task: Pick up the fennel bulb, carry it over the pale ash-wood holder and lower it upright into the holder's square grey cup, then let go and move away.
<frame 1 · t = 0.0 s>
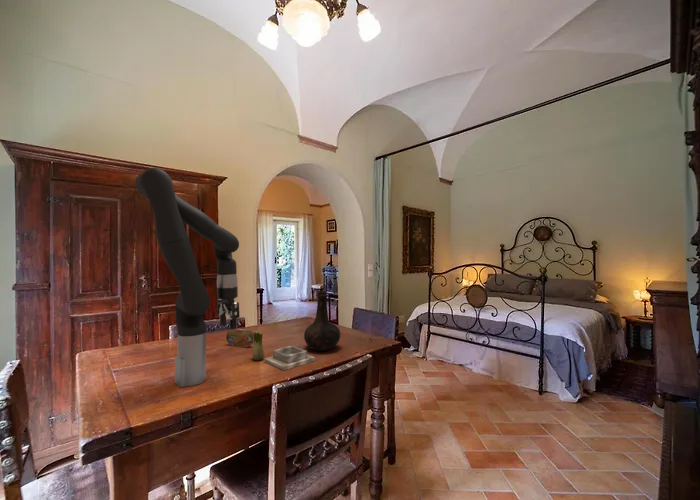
hand: (228, 327, 120), 17 cm above the table, tool pointing down, fingers open, 8 cm apart
glass bottle: (322, 348, 150), on the table
fennel bulb: (258, 359, 134), on the table
tin: (240, 346, 153), on the table
bulb holder: (289, 361, 131), on the table
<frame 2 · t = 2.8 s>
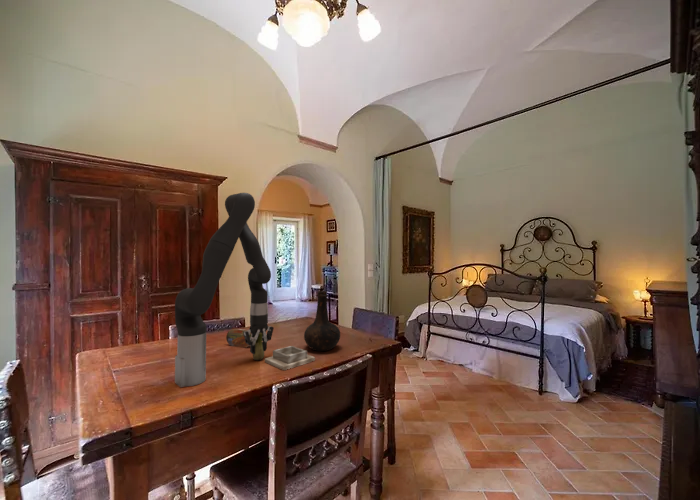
hand: (258, 352, 134), 3 cm above the table, tool pointing down, fingers closed on fennel bulb, 4 cm apart
fennel bulb: (258, 359, 134), on the table, touching gripper
everything else where it was.
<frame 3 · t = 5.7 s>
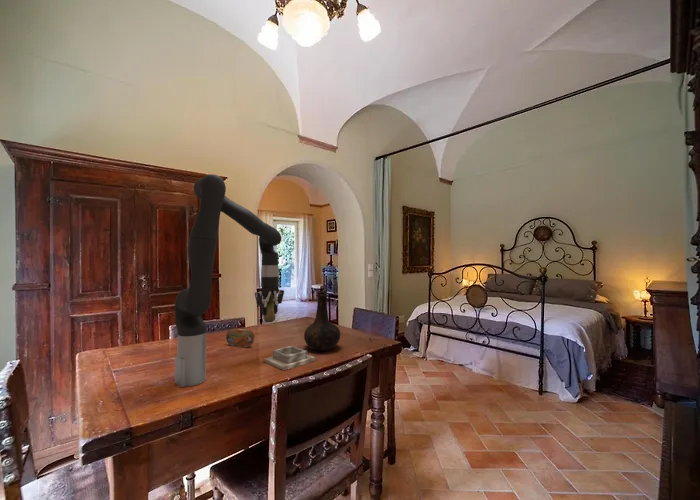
hand: (269, 314, 134), 20 cm above the table, tool pointing down, fingers closed on fennel bulb, 4 cm apart
fennel bulb: (269, 322, 134), point 16 cm above the table, touching gripper
everything else where it was.
when the fingers open (6 cm above the table, at t = 8.5 s): fennel bulb drops 1 cm, resting on bulb holder.
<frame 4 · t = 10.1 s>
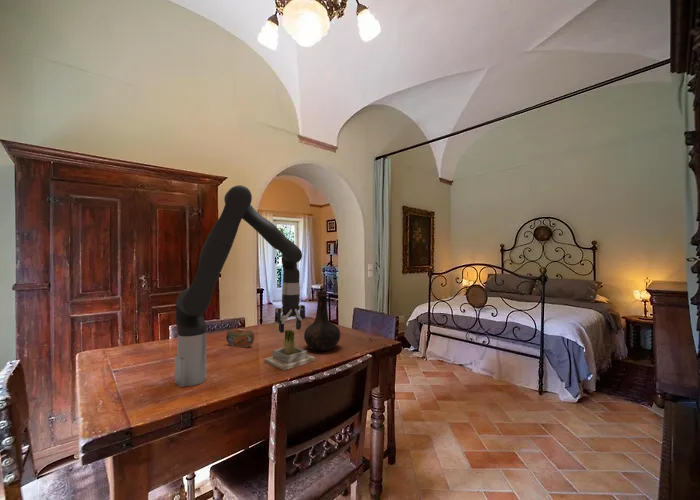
hand: (290, 330, 131), 13 cm above the table, tool pointing down, fingers open, 8 cm apart
fennel bulb: (289, 358, 131), point 1 cm above the table, touching bulb holder
everything else where it was.
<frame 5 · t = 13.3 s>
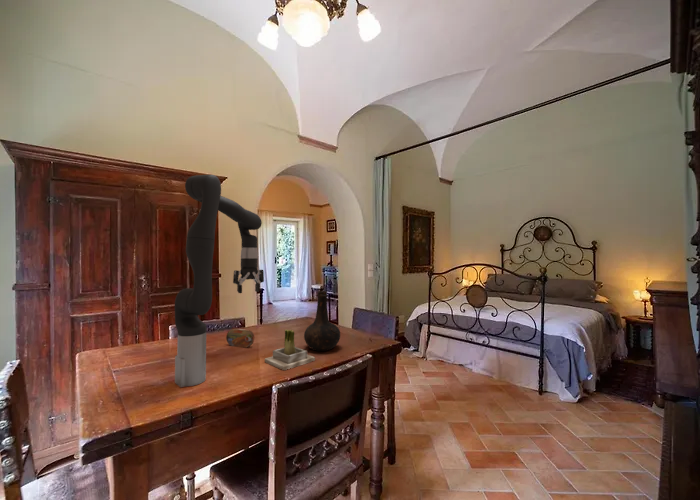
hand: (248, 292, 142), 28 cm above the table, tool pointing down, fingers open, 8 cm apart
nothing on the table moved.
at the end: fennel bulb 0.1 cm off-centre on the bulb holder, point 1.3 cm above the bulb holder's base; fennel bulb tilted 0°; the gripper is holding nothing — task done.
